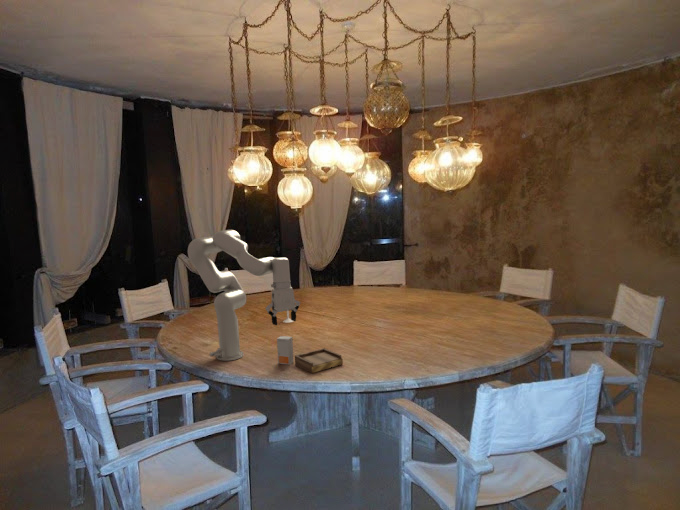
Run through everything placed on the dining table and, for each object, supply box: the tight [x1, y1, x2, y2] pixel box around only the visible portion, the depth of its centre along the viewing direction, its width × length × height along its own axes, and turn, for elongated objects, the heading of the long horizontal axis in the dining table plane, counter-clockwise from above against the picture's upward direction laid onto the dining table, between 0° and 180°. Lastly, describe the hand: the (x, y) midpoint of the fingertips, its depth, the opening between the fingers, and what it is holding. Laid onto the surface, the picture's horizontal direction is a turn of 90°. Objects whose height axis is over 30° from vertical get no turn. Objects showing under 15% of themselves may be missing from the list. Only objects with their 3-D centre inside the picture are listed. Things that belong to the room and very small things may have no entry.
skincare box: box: [276, 335, 294, 366], centre depth 214 cm, size 6×4×12 cm
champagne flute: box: [282, 284, 294, 324], centre depth 289 cm, size 7×7×24 cm
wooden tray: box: [294, 347, 344, 374], centre depth 210 cm, size 16×14×4 cm
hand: (284, 322), depth 212 cm, fingers open, 9 cm apart
